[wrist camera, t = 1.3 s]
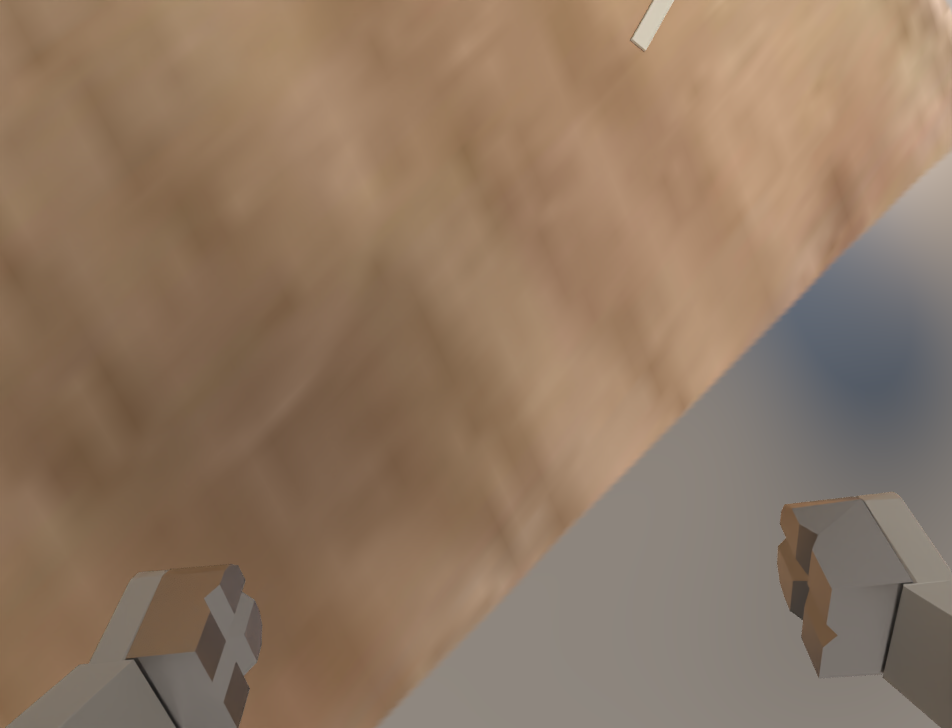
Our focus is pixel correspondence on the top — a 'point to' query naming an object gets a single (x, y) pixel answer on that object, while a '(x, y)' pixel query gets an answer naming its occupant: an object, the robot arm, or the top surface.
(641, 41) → the distance ticks
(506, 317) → the top surface
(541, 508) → the top surface
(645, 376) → the top surface
